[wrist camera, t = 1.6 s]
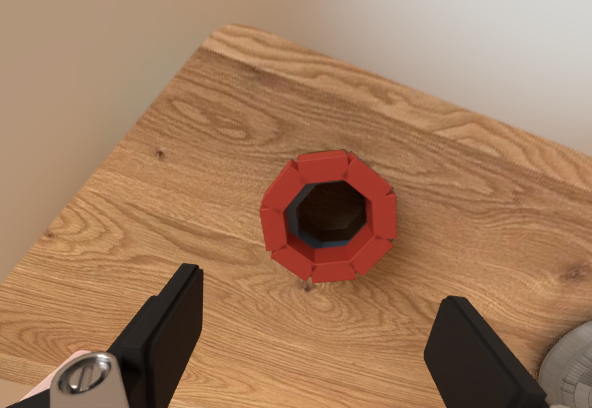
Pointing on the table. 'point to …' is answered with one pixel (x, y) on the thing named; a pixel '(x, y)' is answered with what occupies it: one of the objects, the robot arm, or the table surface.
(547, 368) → the flying saucer
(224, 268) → the table surface
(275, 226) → the ring top
